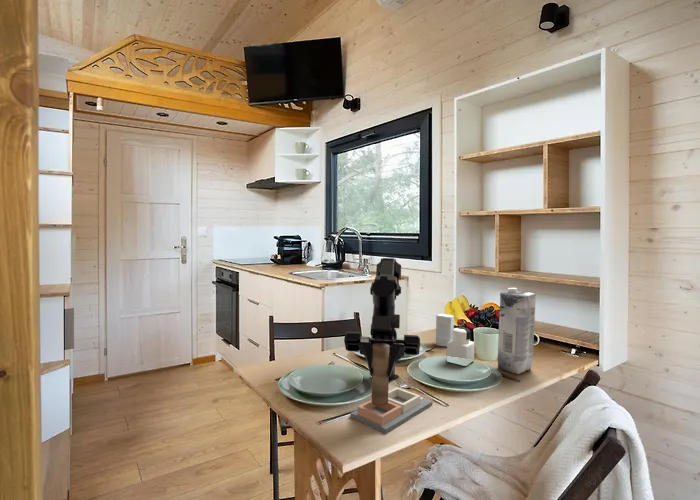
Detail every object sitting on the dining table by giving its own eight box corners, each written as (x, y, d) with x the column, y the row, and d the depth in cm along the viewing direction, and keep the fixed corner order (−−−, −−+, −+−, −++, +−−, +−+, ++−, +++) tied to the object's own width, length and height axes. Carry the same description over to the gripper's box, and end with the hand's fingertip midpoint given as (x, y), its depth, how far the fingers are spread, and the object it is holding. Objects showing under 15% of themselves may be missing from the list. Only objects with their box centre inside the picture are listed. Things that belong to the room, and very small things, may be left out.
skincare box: (453, 345, 158) (454, 315, 157) (450, 347, 155) (451, 317, 154) (438, 342, 161) (439, 313, 161) (435, 344, 158) (436, 315, 157)
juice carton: (535, 369, 132) (539, 289, 131) (518, 376, 126) (523, 292, 124) (510, 362, 139) (513, 285, 138) (493, 368, 133) (497, 288, 131)
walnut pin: (373, 397, 99) (375, 342, 98) (389, 399, 98) (391, 344, 97) (369, 404, 96) (370, 346, 95) (385, 406, 94) (387, 348, 93)
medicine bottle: (455, 357, 143) (456, 324, 142) (474, 362, 139) (475, 328, 138) (446, 362, 138) (447, 328, 137) (465, 367, 133) (467, 332, 132)
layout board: (398, 392, 112) (398, 382, 112) (432, 405, 105) (432, 394, 104) (350, 417, 97) (350, 405, 97) (386, 433, 90) (386, 420, 90)
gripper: (345, 300, 100) (338, 357, 90) (420, 303, 98) (421, 363, 88) (349, 323, 109) (342, 378, 98) (418, 326, 106) (419, 383, 96)
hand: (380, 375), depth 95 cm, fingers closed on walnut pin, 4 cm apart
